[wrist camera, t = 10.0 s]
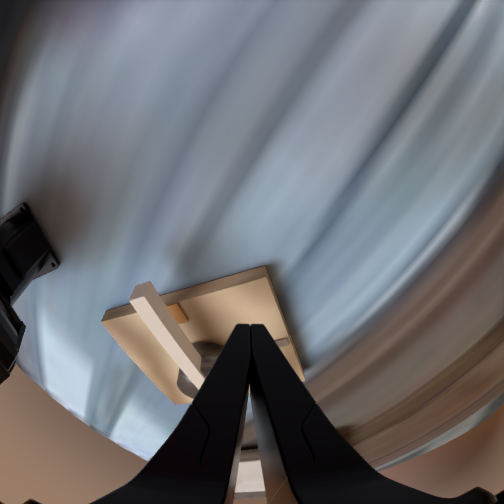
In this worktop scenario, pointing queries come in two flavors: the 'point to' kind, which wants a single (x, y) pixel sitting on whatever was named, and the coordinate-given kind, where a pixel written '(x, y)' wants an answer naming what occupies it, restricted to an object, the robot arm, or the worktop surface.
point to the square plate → (249, 472)
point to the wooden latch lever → (175, 339)
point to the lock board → (203, 324)
